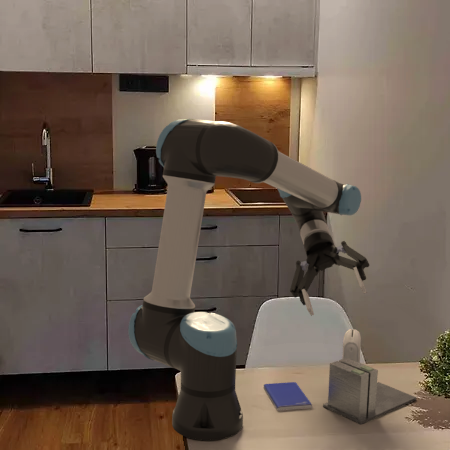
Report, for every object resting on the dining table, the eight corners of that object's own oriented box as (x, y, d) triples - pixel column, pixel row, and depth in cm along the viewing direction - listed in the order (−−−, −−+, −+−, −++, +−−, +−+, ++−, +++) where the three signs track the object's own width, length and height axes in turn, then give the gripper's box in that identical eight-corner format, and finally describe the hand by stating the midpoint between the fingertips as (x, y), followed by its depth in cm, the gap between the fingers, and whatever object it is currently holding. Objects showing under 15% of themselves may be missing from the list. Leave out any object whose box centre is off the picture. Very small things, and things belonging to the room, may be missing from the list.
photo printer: (358, 388, 174) (360, 339, 171) (340, 386, 174) (342, 338, 172) (359, 371, 183) (362, 325, 181) (342, 370, 184) (344, 324, 182)
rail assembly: (360, 424, 155) (363, 377, 153) (322, 406, 163) (325, 361, 161) (416, 399, 168) (419, 356, 166) (378, 384, 176) (381, 342, 174)
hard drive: (312, 403, 162) (296, 381, 174) (277, 406, 161) (263, 383, 173) (312, 410, 163) (296, 387, 175) (277, 412, 161) (263, 389, 173)
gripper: (367, 231, 185) (391, 289, 169) (279, 269, 191) (295, 329, 175) (357, 212, 181) (381, 270, 165) (268, 251, 186) (282, 312, 170)
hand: (336, 301), depth 170 cm, fingers open, 13 cm apart
